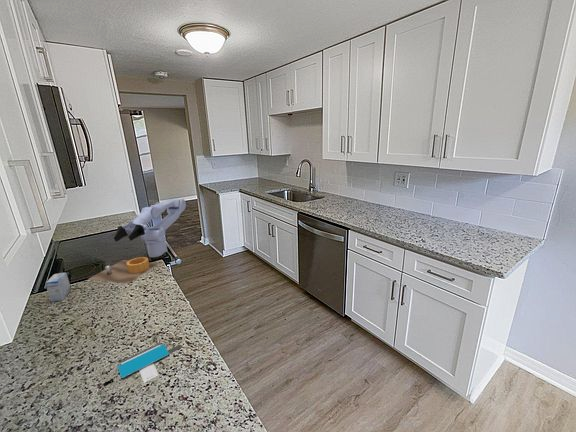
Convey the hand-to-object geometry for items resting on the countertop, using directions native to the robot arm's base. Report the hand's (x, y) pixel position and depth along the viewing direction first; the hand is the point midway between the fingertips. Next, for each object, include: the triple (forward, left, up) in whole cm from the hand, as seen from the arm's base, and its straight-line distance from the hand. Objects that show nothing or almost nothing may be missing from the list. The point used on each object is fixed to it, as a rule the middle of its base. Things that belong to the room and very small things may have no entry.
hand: (122, 239), depth 120 cm
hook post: (+3, -9, -17) cm, 19 cm away
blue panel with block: (+44, +45, -19) cm, 66 cm away
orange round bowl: (-4, +1, -17) cm, 17 cm away
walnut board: (-1, -4, -18) cm, 19 cm away
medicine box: (+20, -16, -19) cm, 31 cm away
